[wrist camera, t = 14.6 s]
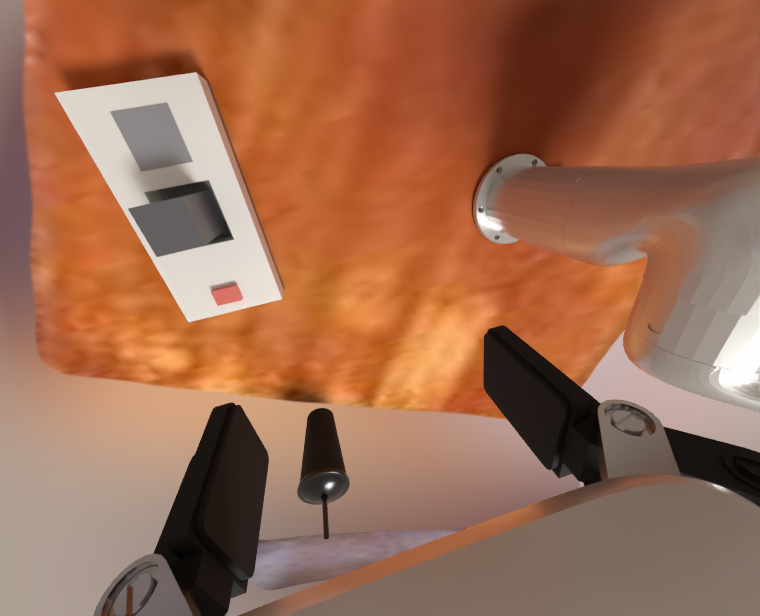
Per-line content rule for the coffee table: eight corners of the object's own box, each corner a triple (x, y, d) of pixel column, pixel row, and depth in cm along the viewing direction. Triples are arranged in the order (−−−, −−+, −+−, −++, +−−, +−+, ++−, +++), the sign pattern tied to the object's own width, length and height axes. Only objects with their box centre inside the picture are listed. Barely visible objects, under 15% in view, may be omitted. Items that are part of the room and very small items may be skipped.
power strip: (209, 83, 30) (193, 69, 26) (284, 287, 41) (281, 301, 37) (85, 101, 28) (47, 90, 24) (198, 308, 40) (186, 325, 36)
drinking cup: (322, 395, 52) (329, 512, 34) (348, 415, 55) (367, 530, 38) (290, 419, 52) (282, 545, 35) (318, 437, 56) (323, 559, 39)
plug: (210, 189, 33) (181, 196, 25) (228, 227, 35) (205, 245, 27) (170, 198, 33) (127, 208, 25) (190, 236, 35) (156, 257, 27)
